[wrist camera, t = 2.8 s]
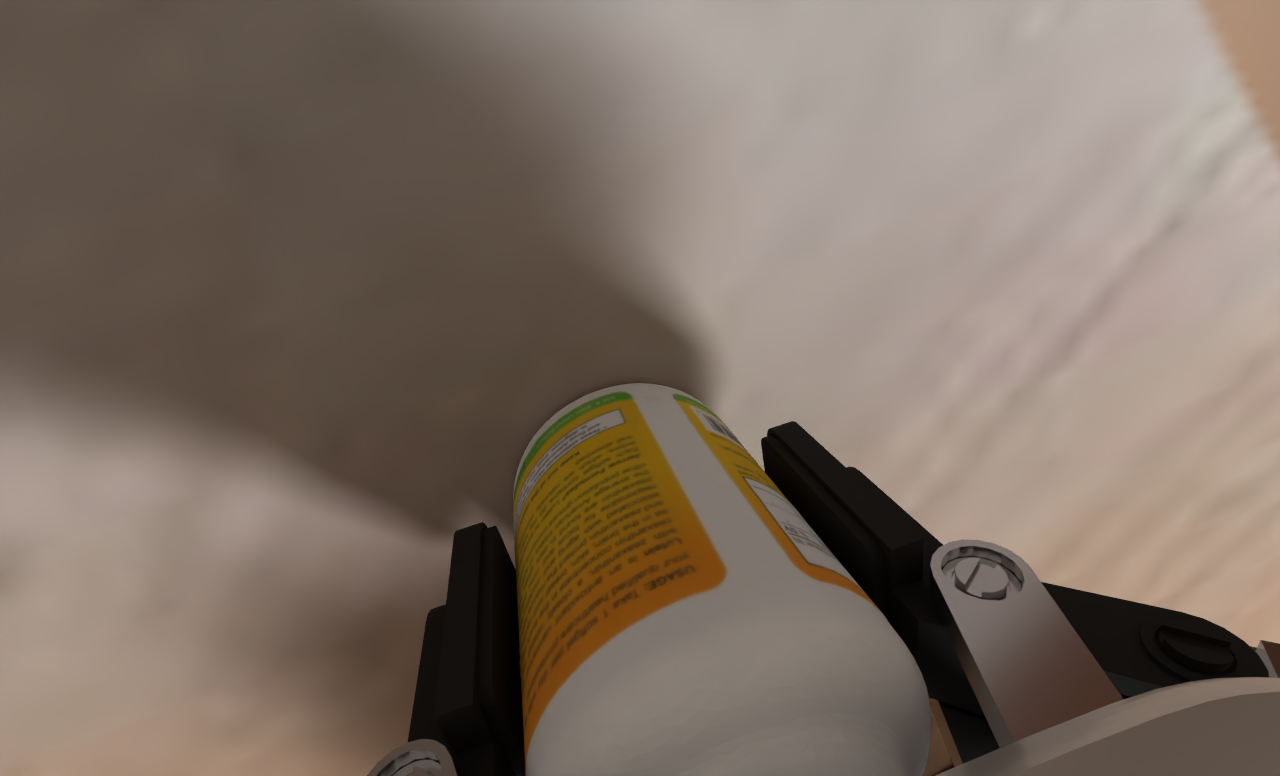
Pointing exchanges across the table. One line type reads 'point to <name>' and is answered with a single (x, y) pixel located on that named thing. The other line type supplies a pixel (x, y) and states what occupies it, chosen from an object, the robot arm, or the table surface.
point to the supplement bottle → (692, 610)
